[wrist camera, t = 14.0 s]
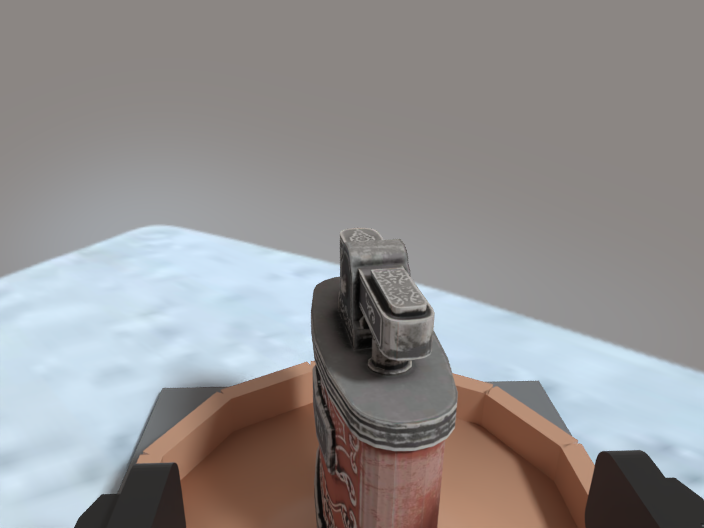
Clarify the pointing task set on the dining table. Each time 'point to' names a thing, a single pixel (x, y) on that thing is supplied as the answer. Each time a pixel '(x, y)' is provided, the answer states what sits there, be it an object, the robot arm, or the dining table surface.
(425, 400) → the lighter
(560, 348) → the dining table surface
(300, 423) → the dish
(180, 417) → the mat
